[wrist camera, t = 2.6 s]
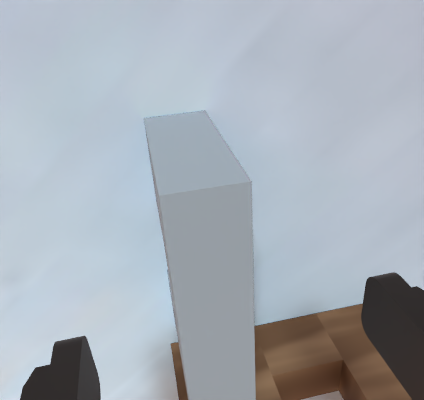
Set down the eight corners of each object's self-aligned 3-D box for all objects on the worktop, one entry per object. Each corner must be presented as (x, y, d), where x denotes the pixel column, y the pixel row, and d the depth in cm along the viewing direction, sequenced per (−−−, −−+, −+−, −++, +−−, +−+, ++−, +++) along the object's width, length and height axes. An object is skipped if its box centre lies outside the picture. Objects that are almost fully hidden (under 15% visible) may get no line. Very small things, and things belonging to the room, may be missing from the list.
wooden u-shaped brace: (170, 343, 27) (189, 468, 20) (390, 298, 29) (473, 396, 23) (175, 373, 29) (194, 498, 22) (383, 327, 31) (460, 427, 24)
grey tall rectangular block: (143, 118, 19) (158, 195, 13) (205, 110, 20) (251, 181, 13) (175, 325, 26) (196, 448, 20) (220, 316, 27) (256, 433, 20)
